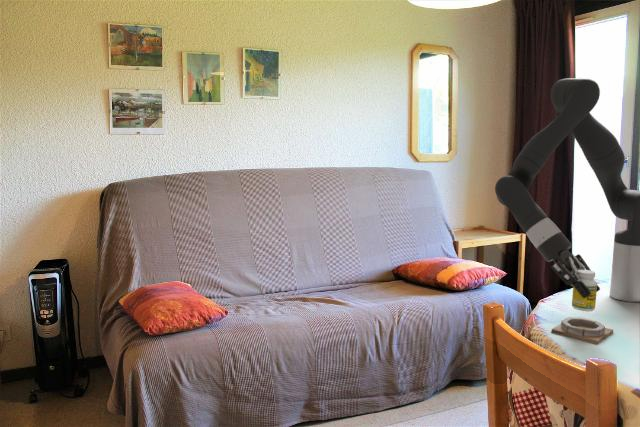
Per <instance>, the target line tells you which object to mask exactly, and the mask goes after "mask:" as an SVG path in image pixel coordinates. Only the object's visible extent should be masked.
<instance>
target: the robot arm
mask: <svg viewBox="0 0 640 427" xmlns="http://www.w3.org/2000/svg"><path fill="white" fill-rule="evenodd" d="M600 94H601V89H600V86H599V84H598V82H596V81H595V80H593V79H590V78H581V77H580V78H579V77H578V78H577V77H575V78H572V77H568V78H567V77H566V78H562V79H559V80H557V81H556V82H554V84H553V86H551V90H550V100H551V103H552V106H553V107H554V110H556V112H557V113H558V115H557V117H555V118H554V119H553V120H552V121H551V122H550V123H549V124H548V125H546V126H545V127H543V128H542V129H541V130H540V131H539V132H537V133H536V134H535V135H533V136H532V137H531V138H530V139H529V140H528V141H527V142H526V144H525V145H524V146H523V148H522V150H520V152H519V154H518V155H517V157H516V158H515V160H514V162H513V164H512V169H511V170H510V172H509V174H508V175H505V176H502V177H501V178H499V179H497V181H496V184H495V187H494V191H495V195H496V198H497V200H498V203H500V204H501V205H503V206H504V207H506V208H507V209H508V210H509V212H511V214H512V215H513V217H514V219H515V221H516V223H517V224H518V225H519V227H520V228H521V229H522V231H523V232H524V233H525V235H526V236H527V238H528V239H529V241H530V242H531V244H533V246H534V248H535V249H536V250H537V251H538V252H539V253H540V255H541V256H542V258H543V259H544V260H545V262H548V263H550V262H552V261H553V263H554V264H553V265H552V266H551V270H552V271H553V272H554V273H555V274H556V275H557V276H558V277H559V278H560V279H561V280H562V281H563V283H564V284H565V285H567V286H571V287H573V286H574V287H575V289H576V290H577V291H578V292H579V294H580V295H581V296H582V297H583V298H586V297H588V296H589V295H591V292H590V290H589V289H588V288H587V287H586V286H585V284H584V283H583V282H582V281H581V279H580V278H579V276H578V270H591V268H590V267H589V266H588V264H587V263H586V261H585V260H584V258H583V257H582V256H581V254H579V253H578V254H577V255H574V254H573V253H572V252H571V251H570V249H571V248H572V247H573V244H572V242H570V240H569V239H568V238H567V237H566V235H565V234H564V233H563V232H562V231H561V229H560V228H559V227H558V226H557V225H556V224H555V223H554V221H553V220H551V219H550V217H548V215H547V214H546V213H545V212H544V210H543V209H542V208H541V206H539V205H538V204H537V203H536V202H535V200H534V199H533V197H532V196H531V194H530V192H529V189H530V188H531V185H532V183H533V181H534V179H535V178H536V176H537V175H538V174H539V172H540V171H541V170H542V169H543V167H544V166H545V165H546V163H547V161H548V160H549V159H550V157H551V156H552V155H553V153H554V152H555V151H556V149H557V148H558V147H559V146H560V145H561V143H562V142H563V141H564V140H565V139H566V138H567V137H568V135H570V134H572V135H573V137H574V139H575V141H576V142H577V145H579V147H580V149H581V151H582V154H583V155H584V157H585V159H586V160H587V163H588V164H589V166H590V168H591V170H593V172H594V174H595V177H596V178H597V181H598V182H599V185H600V186H601V188H602V190H603V193H604V196H605V198H606V201H607V204H608V205H609V209H610V211H611V212H612V214H613V215H614V216H615V217H616V218H618V219H620V220H625V221H631V223H630V226H629V228H627V229H625V230H619V231H617V232H616V233H615V234H614V242H613V243H614V244H613V254H612V265H611V275H610V276H611V277H610V288H609V296H610V297H611V298H612V299H615V300H619V301H624V302H630V303H632V302H633V303H636V302H637V303H639V302H640V190H637V189H630V188H628V187H627V186H626V183H624V181H623V179H622V172H623V169H624V165H625V161H626V160H625V159H626V156H625V153H624V151H623V148H622V147H621V145H620V143H619V141H618V139H617V138H616V136H615V135H614V134H613V132H611V131H610V130H609V129H608V128H607V127H605V126H604V125H603V124H602V123H601V122H599V121H598V120H597V119H596V118H595V117H594V115H592V114H591V113H590V112H592V110H593V109H594V108H595V107H596V105H597V103H598V102H599V99H600ZM580 281H581V282H580ZM600 290H601V288H600V286H599V285H598V284H597V292H599V291H600Z"/></svg>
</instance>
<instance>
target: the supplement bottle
mask: <svg viewBox="0 0 640 427" xmlns="http://www.w3.org/2000/svg"><path fill="white" fill-rule="evenodd" d="M578 276H579V278H580V279H581V281H582V282H583V283H584V284H585V286H586V287H587V288H588V289H589V290H590V292H591V295H589V296H588V297H586V298H583V297H582V296H581V295H580V294H579V292H578V291H577V290H576V289H575V287H574V286H572V300H571V307H572V308H573V309H574V310H576V311H577V310H578V311H582V312H592V311H595V309H596V301H597V293H598V291H597V285H598V282H597V280H595V277H596V272H595V270H591V269H590V270H578ZM581 281H580V282H581Z"/></svg>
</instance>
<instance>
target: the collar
mask: <svg viewBox="0 0 640 427" xmlns="http://www.w3.org/2000/svg"><path fill="white" fill-rule="evenodd" d="M551 333H554V334H556V335H557V334H558V335H561V336H565V337H569V338H573V339H576V340H580V341H584V342H587V343H592V344H595V345H598V344H599V343H601V342H602V341H604V340H605V339H606V338H608V337H609V336H611V335H612V334H614V329H611V328H608V327H606V326H605V325H604V324H603V323H601V322H600V321H597V320H593V319H590V318H585V317H569V316H568V317H565V318H564V319H562V320H561V322H560V324H558V325H556V326H555V327H553V328H551Z"/></svg>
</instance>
